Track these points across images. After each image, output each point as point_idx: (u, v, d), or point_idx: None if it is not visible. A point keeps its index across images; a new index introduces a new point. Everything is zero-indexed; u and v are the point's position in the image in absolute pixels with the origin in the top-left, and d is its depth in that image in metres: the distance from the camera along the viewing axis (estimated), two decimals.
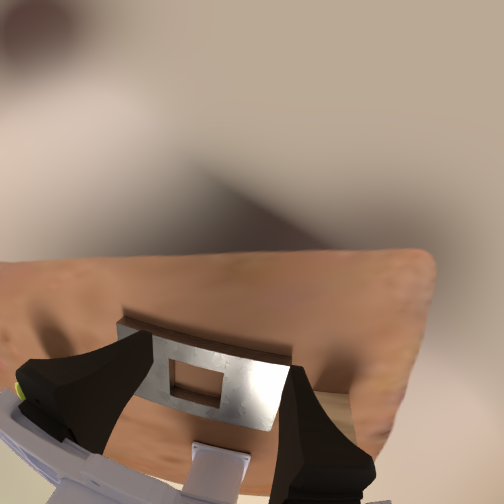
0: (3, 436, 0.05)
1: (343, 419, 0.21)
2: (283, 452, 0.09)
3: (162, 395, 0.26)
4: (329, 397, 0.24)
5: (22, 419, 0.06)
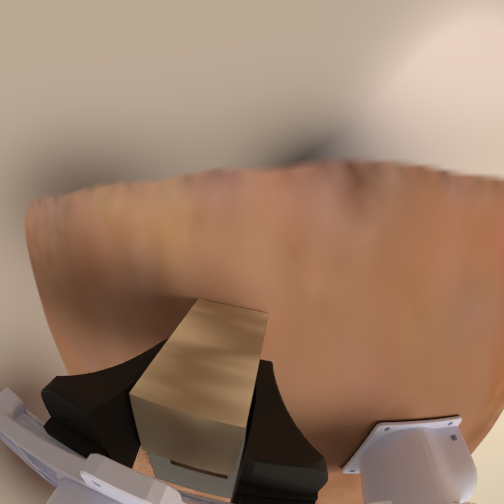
0: (3, 436, 0.05)
1: None
2: (244, 446, 0.09)
3: (231, 483, 0.19)
4: None
5: (22, 419, 0.06)
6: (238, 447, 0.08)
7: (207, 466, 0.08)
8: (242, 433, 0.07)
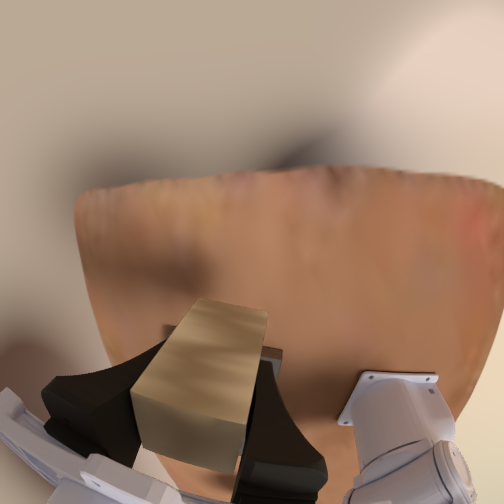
0: (3, 436, 0.05)
1: None
2: (244, 446, 0.09)
3: None
4: None
5: (22, 419, 0.06)
6: (239, 444, 0.08)
7: (208, 464, 0.08)
8: (243, 430, 0.07)
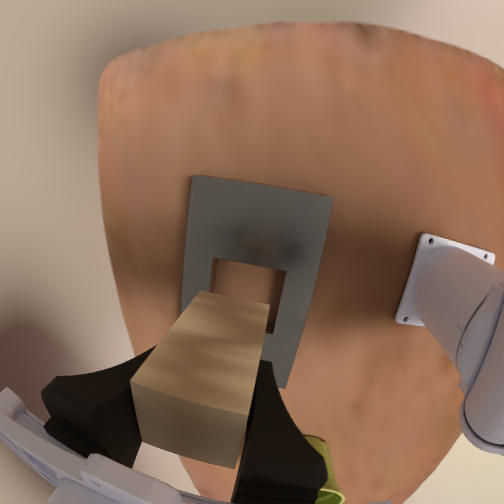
0: (3, 436, 0.05)
1: None
2: (244, 446, 0.09)
3: (276, 344, 0.22)
4: None
5: (22, 419, 0.06)
6: (240, 436, 0.08)
7: (209, 458, 0.08)
8: (245, 421, 0.07)
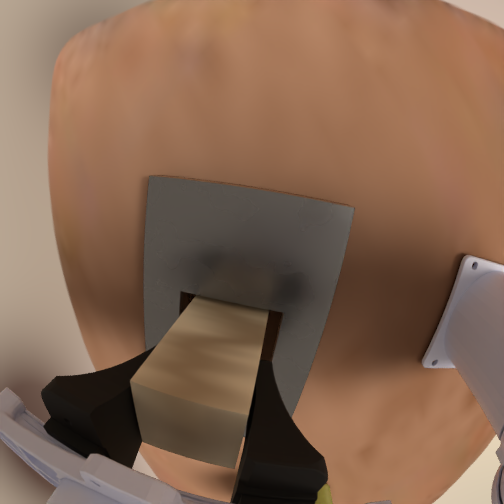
0: (3, 436, 0.05)
1: None
2: (244, 446, 0.09)
3: None
4: None
5: (22, 419, 0.06)
6: (240, 436, 0.08)
7: (209, 458, 0.08)
8: (245, 421, 0.07)
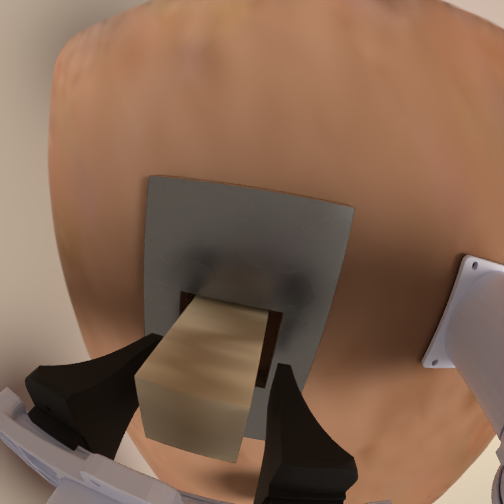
0: (3, 436, 0.05)
1: None
2: (268, 450, 0.09)
3: None
4: None
5: (22, 419, 0.06)
6: (242, 430, 0.08)
7: (211, 452, 0.09)
8: (246, 414, 0.08)
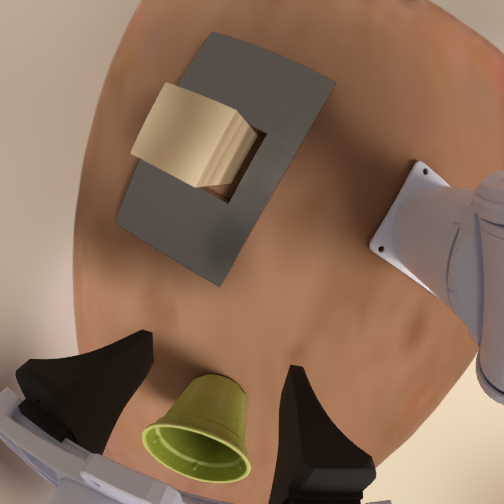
0: (3, 436, 0.05)
1: None
2: (283, 452, 0.09)
3: (227, 218, 0.19)
4: None
5: (22, 419, 0.06)
6: (220, 134, 0.11)
7: (180, 168, 0.12)
8: (231, 116, 0.11)
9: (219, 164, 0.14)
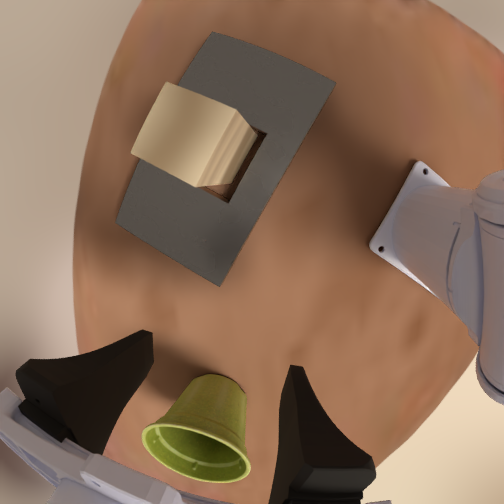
0: (3, 436, 0.05)
1: None
2: (283, 452, 0.09)
3: (227, 218, 0.19)
4: None
5: (22, 419, 0.06)
6: (221, 134, 0.11)
7: (180, 168, 0.12)
8: (231, 116, 0.11)
9: (219, 164, 0.14)
